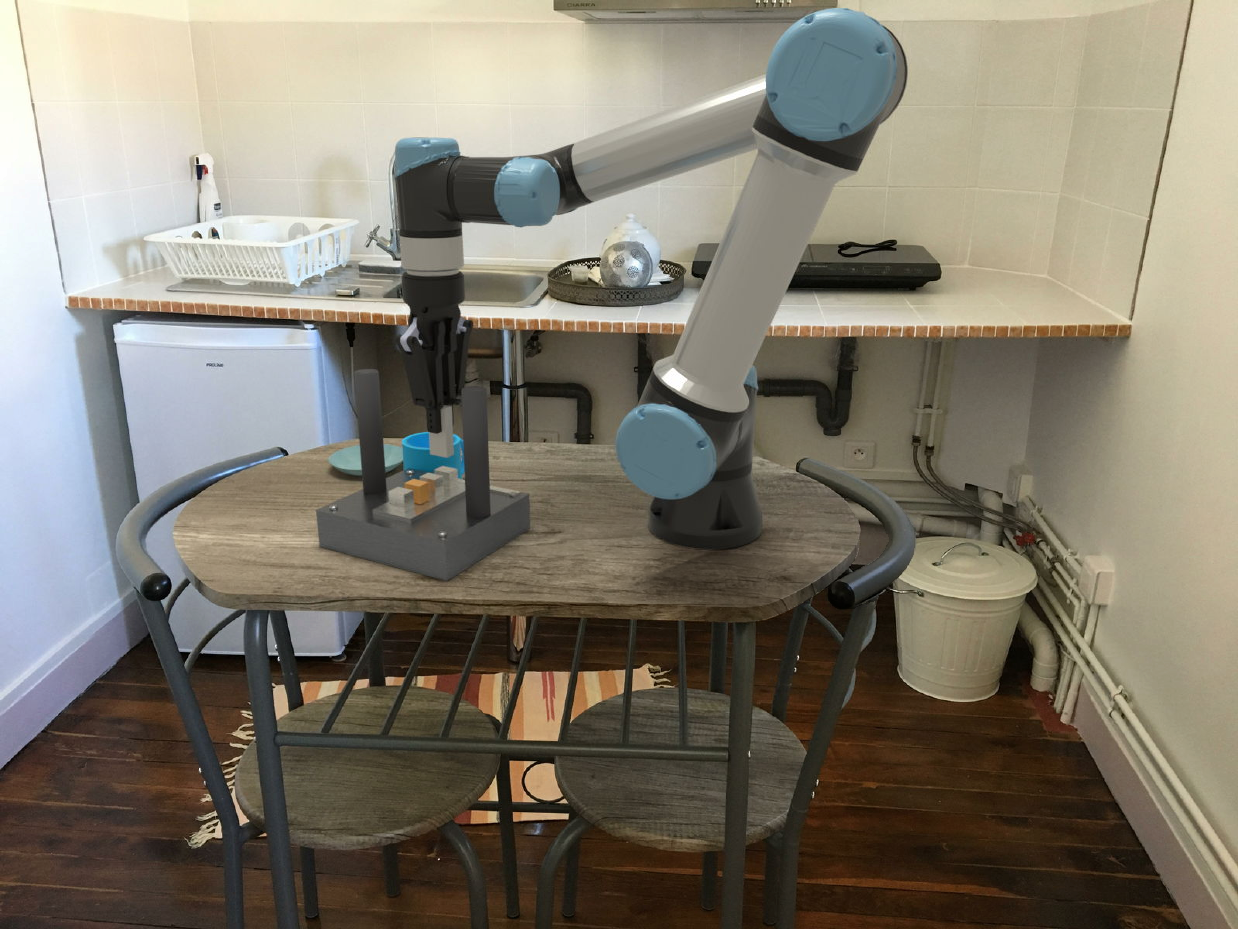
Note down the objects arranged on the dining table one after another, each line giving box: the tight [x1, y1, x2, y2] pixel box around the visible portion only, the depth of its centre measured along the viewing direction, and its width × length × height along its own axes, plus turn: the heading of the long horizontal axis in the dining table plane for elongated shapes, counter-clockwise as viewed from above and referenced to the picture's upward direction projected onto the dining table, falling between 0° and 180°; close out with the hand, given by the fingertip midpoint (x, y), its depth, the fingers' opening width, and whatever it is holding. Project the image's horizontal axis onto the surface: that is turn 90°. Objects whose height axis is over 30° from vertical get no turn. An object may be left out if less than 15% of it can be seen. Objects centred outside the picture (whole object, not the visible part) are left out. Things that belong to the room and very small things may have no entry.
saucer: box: [328, 443, 403, 478], centre depth 155 cm, size 12×12×2 cm
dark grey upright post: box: [353, 368, 387, 494], centre depth 130 cm, size 3×3×16 cm
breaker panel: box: [315, 466, 531, 582], centre depth 130 cm, size 20×18×8 cm
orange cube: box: [404, 479, 430, 504], centre depth 127 cm, size 2×2×2 cm
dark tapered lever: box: [460, 385, 491, 519], centre depth 123 cm, size 3×3×16 cm
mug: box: [401, 431, 465, 479], centre depth 146 cm, size 12×8×8 cm
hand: (442, 454), depth 131 cm, fingers closed
